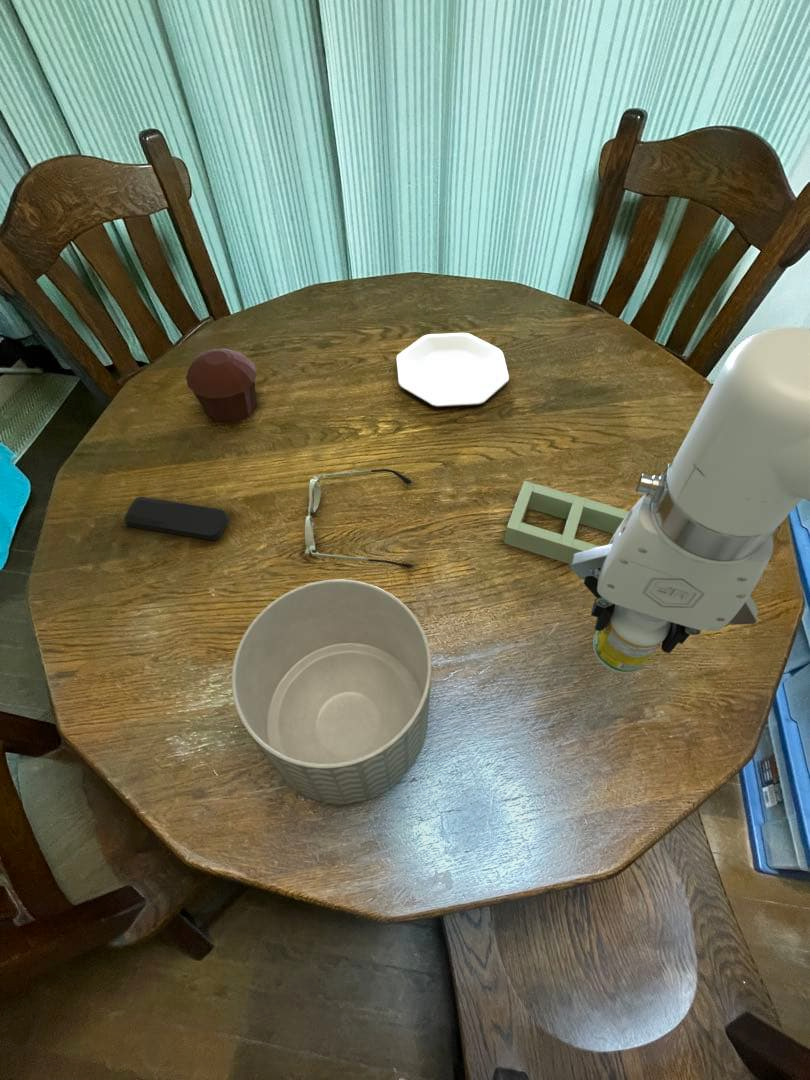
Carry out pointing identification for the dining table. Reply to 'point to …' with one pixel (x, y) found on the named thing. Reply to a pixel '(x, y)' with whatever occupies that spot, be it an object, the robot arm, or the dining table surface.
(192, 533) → the remote control
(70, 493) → the dining table surface
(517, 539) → the socket block
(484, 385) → the plate
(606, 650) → the supplement bottle
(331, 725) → the planter
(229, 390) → the muffin
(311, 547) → the eyeglasses
